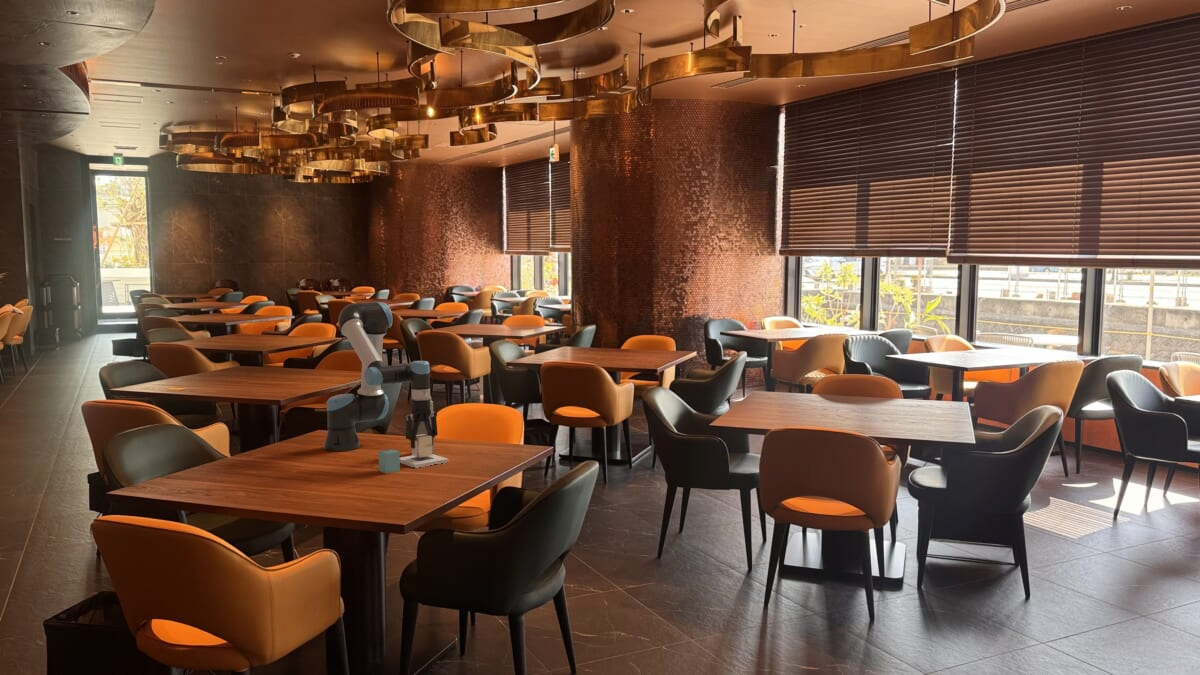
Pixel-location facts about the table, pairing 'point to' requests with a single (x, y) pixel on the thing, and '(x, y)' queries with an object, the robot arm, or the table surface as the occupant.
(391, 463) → the teal block
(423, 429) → the thermos bottle
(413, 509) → the table surface
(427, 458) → the base plate
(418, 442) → the maple block
